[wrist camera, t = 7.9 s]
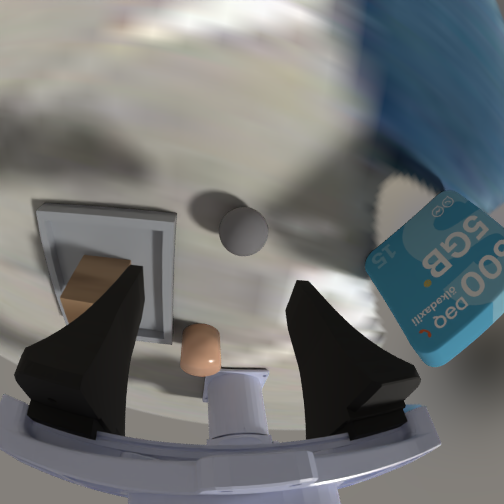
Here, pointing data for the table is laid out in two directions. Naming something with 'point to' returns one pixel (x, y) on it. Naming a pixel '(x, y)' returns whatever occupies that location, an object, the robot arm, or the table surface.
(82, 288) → the walnut block
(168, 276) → the tray
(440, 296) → the data package
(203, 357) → the peach rounded tapered piece
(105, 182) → the table surface
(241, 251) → the rubber ball
